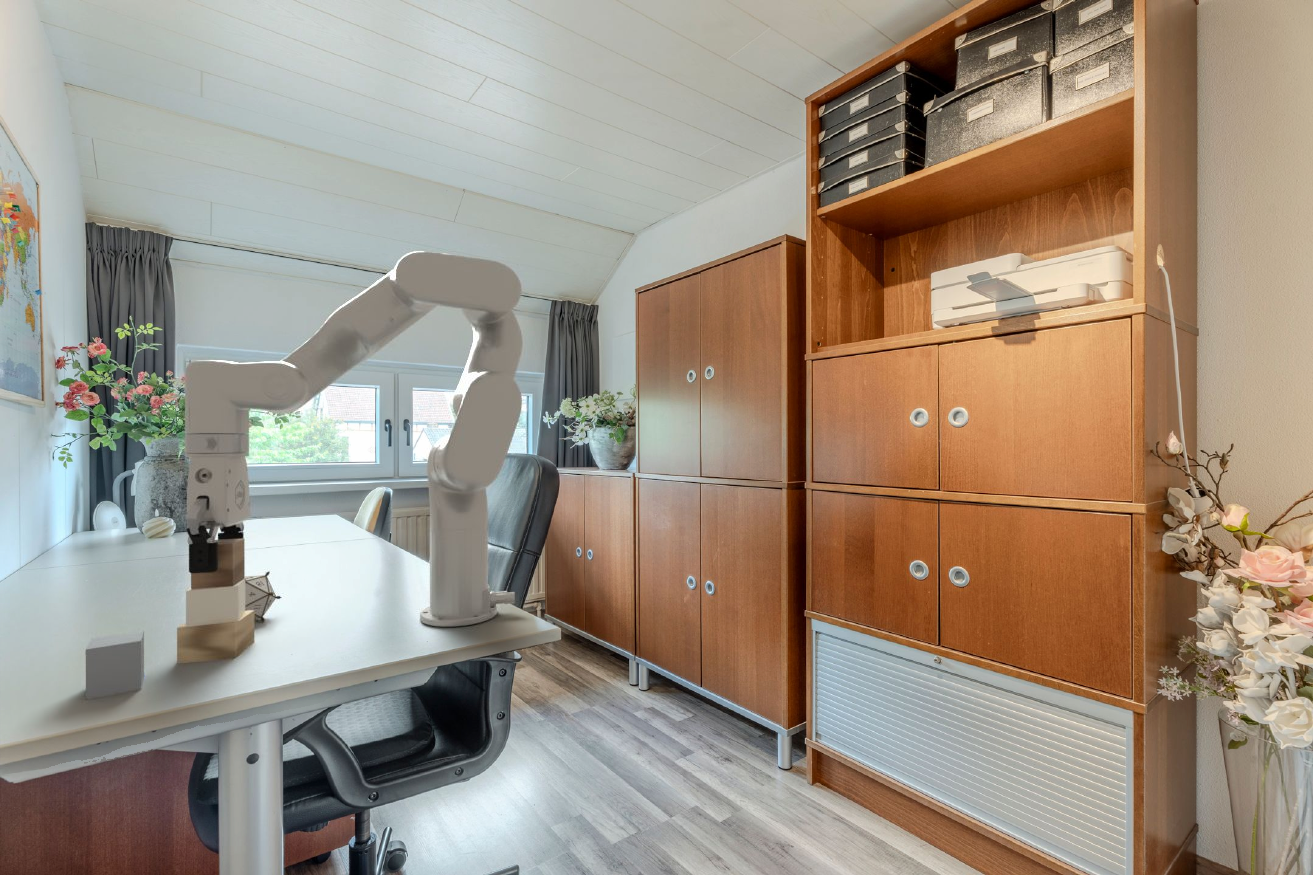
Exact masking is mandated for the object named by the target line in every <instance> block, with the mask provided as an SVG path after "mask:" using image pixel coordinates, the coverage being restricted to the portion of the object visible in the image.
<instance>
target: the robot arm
mask: <svg viewBox="0 0 1313 875" xmlns="http://www.w3.org/2000/svg"><path fill="white" fill-rule="evenodd" d="M521 296H522V284H521V281H520V278H519V276H518V275H517V274H516V273H515V271H514V270H513V269H512V268H510V267H509V266H507V265H506V264H504V263H502V262H499V261H496V260H490V259H484V258H478V257H477V258H476V257H471V256H470V257H469V256H463V255H457V254H449V253H444V252H436V251H435V252H434V251H427V250H423V251H422V250H421V251H418V250H417V251H412V252H409V253H408V252H407V254H405V255H403V256H401V258H400V259H399V260H398V261H397V263H396V265H395V266H394V269H392V270H391V271H389V272H388V273H387V274H386V275H383V277H381V278H380V279H378V280H376V282H374V283H373V284H371V286H369V287H367V288H366V289H364V290H363V291H362V292H360V293H359V294H358V295H356V296H355V297H353V298H352V299H350V300H349V301H346V303H344V304H343V305H341V306H339V307H338V308H337V309H336V310H335V311H334V312H333V313H332V314H331V315H330V316H328V318H327V319H326V320H325V322H324V323H323V324H322V326H320V328H319V329H318V330H317V331H316V332H315V334H313V335H312V336H311V337H309V339H307V341H305V342H304V343H303V344H302V345H300V346H299V347H298V348H296V349H294V351H292V352H291V353H290V354H288V355H287V356H286V357H284V358H282V359H280V361H276V360H275V361H259V362H240V363H239V362H235V361H228V360H219V359H218V360H215V359H200V360H194V361H191V362H189V363H188V364H187V365H186V368H185V373H184V453H185V454H184V458H189V459H190V460H189V465H188V476H187V490H186V491H187V492H186V493H187V494H186V515H185V520H186V524H187V528H186V533H187V535H188V537H187V543H188V573H190V574H191V573H208V572H215V571H217V570H218V542H214V541H215V540H216V537H217V540H222V539H244V540H245V538H244V530H245V524H244V522H245V521H247V520H248V519H249V518H250V517H251V516H250V515H251V504H250V502H251V500H250V485H249V484H250V483H249V471H248V464H247V458H246V457H250V453H249V452H250V409H251V410H260V411H266V412H269V413H272V414H277V415H286V414H292V413H293V412H296V411H297V410H299V409H301V408H302V407H303V406H304V405H306V404H308V403H309V402H310V401H311V400H313V399H314V398H315V397H317V396H318V395H319V394H321V393H322V392H323V391H325V390H326V389H327V388H328V387H330V386H331V385H332V384H334V383H335V382H336V381H338V380H339V379H340V378H342V377H343V376H345V375H346V374H347V373H349V371H351V370H352V369H354V368H356V367H357V366H359V365H360V364H362V363H364V362H366V361H368V360H369V358H371V357H373V355H375V354H376V353H378V352H379V351H380V350H382V349H383V348H384V347H386V346H387V345H388V344H389V343H391V342H392V341H393V340H394V339H396V338H398V336H400V335H401V334H402V333H404V332H405V331H406V330H407V329H409V328H410V327H411V326H413V325H415V324H416V323H417V322H418V321H420V320H421V319H423V318H424V317H425V316H427V315H428V314H429V313H430V312H431V311H432V310H434V309H435V308H436V307H438V306H440V307H445V308H452V309H460V310H461V312H462V314H463V316H465V318H466V320H468V322H469V324H470V325H471V328H472V331H473V342H472V346H471V349H470V352H469V356H468V359H467V362H466V365H465V367H464V370H463V372H462V375H461V377H460V380H459V381H458V382H459V383H458V385H457V388H456V389H455V391H454V395H453V398H452V408H453V413H454V414H455V416H456V417H455V420H454V423H453V426H452V429H451V432H450V434H447V435H445V436H442V437H441V438H439V439H438V440H437V441H436V442H435V443H434V445H432V447H431V449H430V452H429V453H428V457H427V466H426V467H427V468H426V471H427V472H426V473H427V474H426V475H427V483H428V484H427V486H428V493H429V494H428V495H429V496H428V498H429V606H428V607H425V608H424V609H423V610H421V612H420V613H419V620H420V622H421V623H423V624H425V625H427V626H433V627H441V628H442V627H445V628H446V627H447V628H448V627H449V628H450V627H464V626H469V625H475V624H480V623H483V622H486V621H488V620H490V619H493V618H495V616H496V615H497V614H498V606H497V605H501V604H502V605H503V604H504V605H509V604H515V602H516V595H515V594H516V593H515V591H512V592H511V591H510V592H508V591H507V590H501V591H494V590H491V588H490V584H488V583H489V582H488V581H489V577H488V576H489V567H488V566H489V561H488V560H489V556H488V555H489V554H488V553H489V551H488V549H489V548H488V546H489V544H488V543H489V542H488V540H489V538H488V536H489V534H488V533H489V531H488V527H489V526H488V525H489V511H488V510H489V509H488V508H489V506H488V497H487V496H488V495H487V488H488V487H489V486H491V485H492V484H493V483H494V481H495V480H496V479H497V478H498V476H499V475H500V473H501V471H502V468H503V466H504V463H505V461H506V458H507V455H508V453H509V449H510V446H511V444H512V441H513V438H514V434H515V432H516V428H517V427H518V423H519V419H520V417H521V413H522V407H523V397H522V392H521V389H520V386H518V383H517V382H516V381H515V377H516V374H517V370H518V367H519V363H520V361H521V360H520V359H521V356H522V352H523V334H522V330H521V327H520V324H519V321H518V320H517V317H516V315H515V313H514V311H513V309H515V308H516V307H517V305H519V304H518V303H519V302H520V299H521ZM218 530H220V532H218Z"/></svg>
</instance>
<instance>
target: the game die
mask: <svg viewBox="0 0 1313 875" xmlns="http://www.w3.org/2000/svg"><path fill="white" fill-rule="evenodd" d="M269 575H270V570H269V571H267V572H265V575H251V576H245V611H248V610H254V620H255V619H260V621H261V622H263V623H265V621H266V619H265V617H264V616H265V614H267V611H268V610H269V609H270V608H271V606H272V605H273V603H274V602H275V600H280V599H282V596H280V595H277V596H276V593H275V591H274V589H273V587H272V584H271V583H270V580H269V578H268V576H269Z"/></svg>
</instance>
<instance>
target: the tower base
mask: <svg viewBox="0 0 1313 875" xmlns="http://www.w3.org/2000/svg"><path fill="white" fill-rule="evenodd" d="M253 644H255V619H254V610H248V611H245V612H244V613H243V615H242V616H241V618H240V619H239V621H236V622H227V623H218V624H209V625H200V626H191V627H186V622H184V623H182V624H181V625H179V626H177V627H176V663H177V664H185V663H196V662H197V663H198V662H207V661H221V660H222V661H223V660H233V659H237V658H238V657H239V656H240V655H241V654H242V653H244V652H245V651H246V650H247V649H249V648H250V647H251V646H252V645H253Z"/></svg>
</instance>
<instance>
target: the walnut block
mask: <svg viewBox="0 0 1313 875" xmlns="http://www.w3.org/2000/svg"><path fill="white" fill-rule="evenodd" d="M214 542H218V570H217V571H215V572H208V573H190V587H191V589H198V588H213V587H228V586H234V585H235V584H237V583H238V582H240V581H242V580H243V579H245V577H246V576H245V573H246V572H245V560H246V559H245V553H246V552H245V538H244V539H222V540H218V539H215V541H214Z"/></svg>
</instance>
